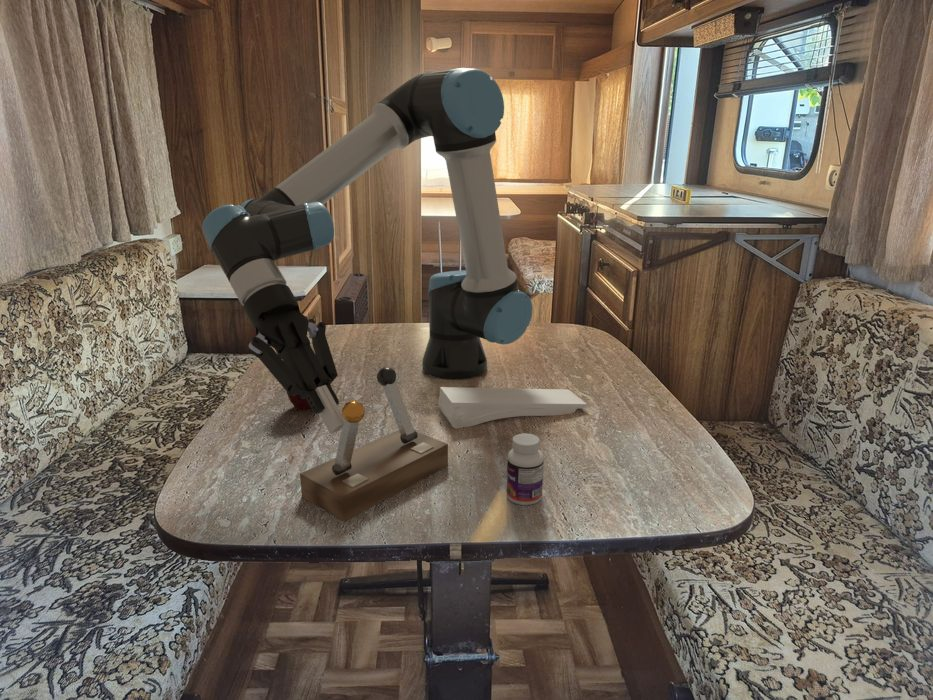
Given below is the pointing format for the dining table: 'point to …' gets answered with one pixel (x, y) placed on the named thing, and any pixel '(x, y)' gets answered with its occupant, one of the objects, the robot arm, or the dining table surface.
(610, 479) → the dining table surface
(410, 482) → the switch box
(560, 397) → the wall bracket
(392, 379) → the black knob lever
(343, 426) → the orange knob lever
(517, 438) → the pill bottle
